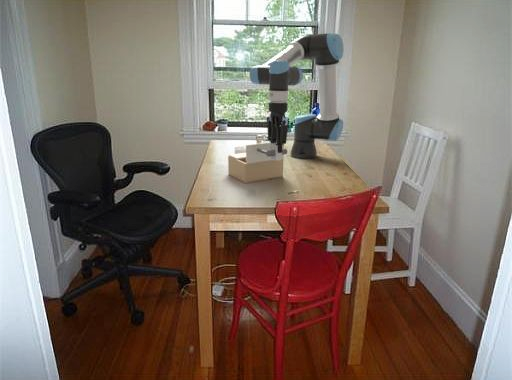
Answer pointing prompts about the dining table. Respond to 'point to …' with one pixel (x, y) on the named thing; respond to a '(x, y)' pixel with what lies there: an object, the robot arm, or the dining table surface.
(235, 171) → the cabinet
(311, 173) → the dining table surface
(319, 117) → the robot arm
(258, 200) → the dining table surface
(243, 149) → the white cup
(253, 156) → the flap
